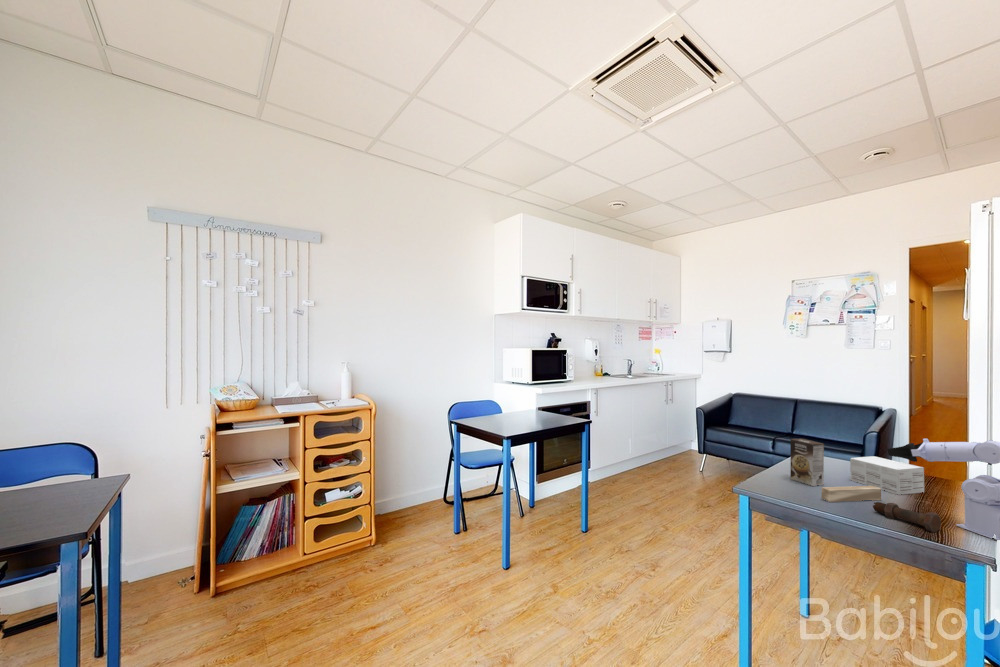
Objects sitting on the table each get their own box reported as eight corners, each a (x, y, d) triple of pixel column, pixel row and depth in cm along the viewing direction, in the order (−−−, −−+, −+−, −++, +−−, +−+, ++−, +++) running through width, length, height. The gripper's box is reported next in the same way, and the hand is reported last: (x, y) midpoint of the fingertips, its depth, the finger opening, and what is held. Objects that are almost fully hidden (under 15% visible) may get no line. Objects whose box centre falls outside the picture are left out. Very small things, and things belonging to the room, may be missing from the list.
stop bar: (881, 500, 147) (880, 488, 147) (829, 502, 144) (829, 490, 145) (872, 496, 150) (872, 485, 150) (821, 498, 147) (821, 487, 148)
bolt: (877, 517, 137) (938, 536, 123) (868, 511, 135) (928, 529, 121) (882, 500, 138) (943, 517, 124) (873, 494, 137) (933, 510, 122)
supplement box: (925, 492, 155) (925, 467, 155) (898, 495, 152) (898, 469, 152) (874, 478, 171) (874, 455, 172) (849, 480, 168) (849, 457, 168)
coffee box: (789, 479, 169) (789, 438, 169) (801, 477, 171) (801, 437, 171) (812, 486, 160) (812, 444, 161) (824, 485, 162) (824, 442, 162)
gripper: (955, 437, 133) (901, 438, 145) (934, 439, 127) (879, 440, 139) (962, 460, 132) (907, 459, 143) (941, 463, 125) (885, 462, 137)
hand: (894, 451), depth 141 cm, fingers open, 7 cm apart
